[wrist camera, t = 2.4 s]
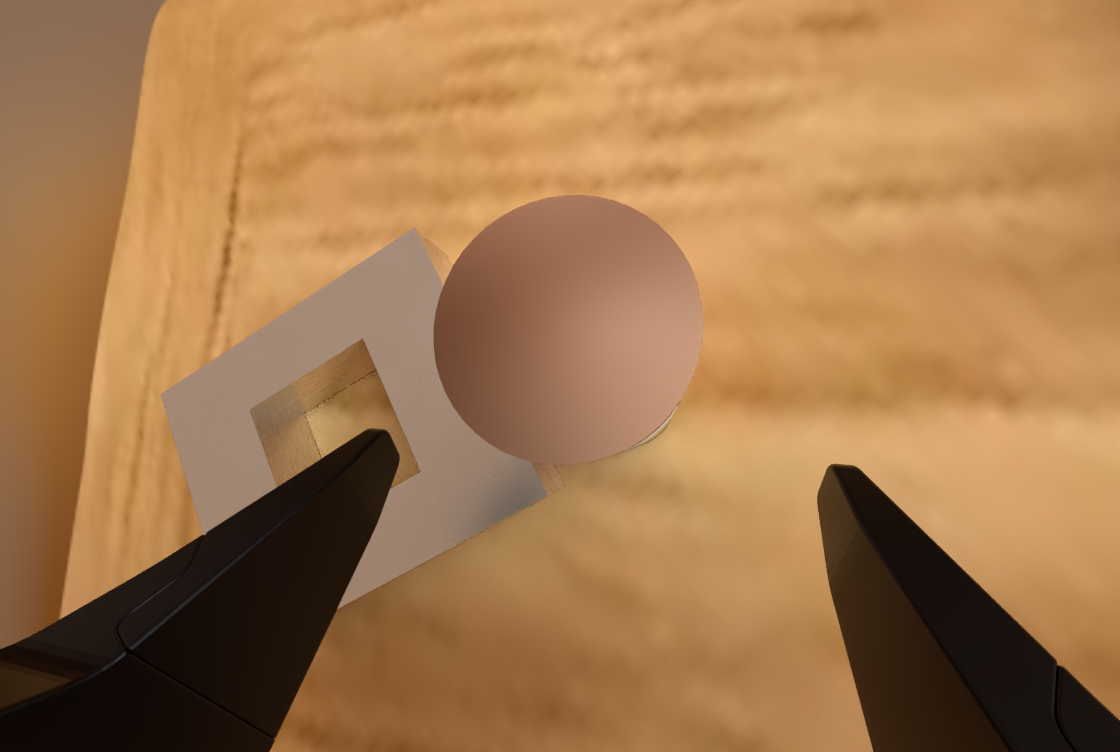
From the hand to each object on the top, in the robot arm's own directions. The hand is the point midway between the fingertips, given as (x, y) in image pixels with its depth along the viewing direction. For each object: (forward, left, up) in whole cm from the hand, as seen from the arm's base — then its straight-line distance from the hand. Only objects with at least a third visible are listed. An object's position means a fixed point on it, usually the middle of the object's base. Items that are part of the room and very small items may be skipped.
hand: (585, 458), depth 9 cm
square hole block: (+6, +10, -9) cm, 15 cm away
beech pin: (+2, -1, -9) cm, 10 cm away
